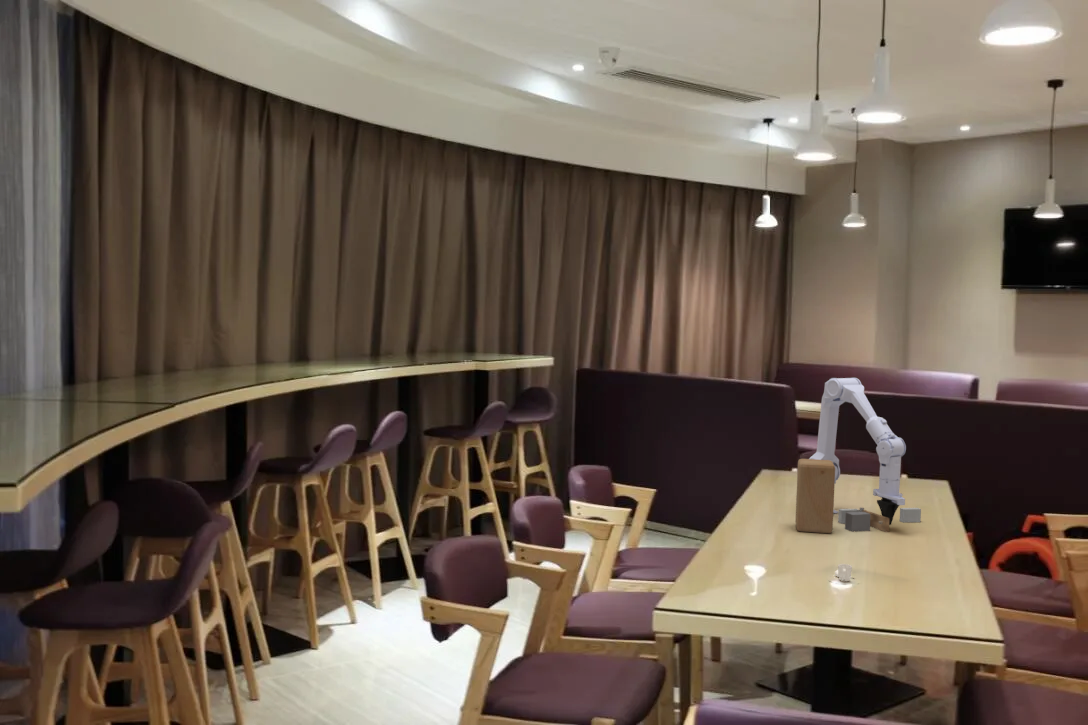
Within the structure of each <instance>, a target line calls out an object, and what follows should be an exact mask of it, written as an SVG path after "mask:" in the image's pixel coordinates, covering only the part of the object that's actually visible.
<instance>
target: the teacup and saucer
mask: <svg viewBox="0 0 1088 725" xmlns="http://www.w3.org/2000/svg"><path fill="white" fill-rule="evenodd" d="M852 568H853V567H852V565H851V564H847V563H839V564H837V569H836V570H835V571H834V576H837V577H836V578H838V577H839V578H838V580H839V581H840V580H841V581H840V582H842V581H849V582H850V581H851V577H852V570H853V569H852Z"/></svg>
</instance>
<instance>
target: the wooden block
mask: <svg viewBox="0 0 1088 725" xmlns="http://www.w3.org/2000/svg"><path fill="white" fill-rule="evenodd" d="M796 474H797V476H796V496H795V497H796V499H795V500H796V501H795V521H794V522H795V527H796V530H797V531H798V532H801V533H813V534H814V533H817V534H818V533H819V534H832V532H833V529H834V528H833V526H834V513H833V509H834V508H835V507H834V505H835V503H834V501H835V485H836V484H835V466H834V464H833V462H832V461H830V460H817V459H809V458H800V459H798V461H797V473H796Z"/></svg>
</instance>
